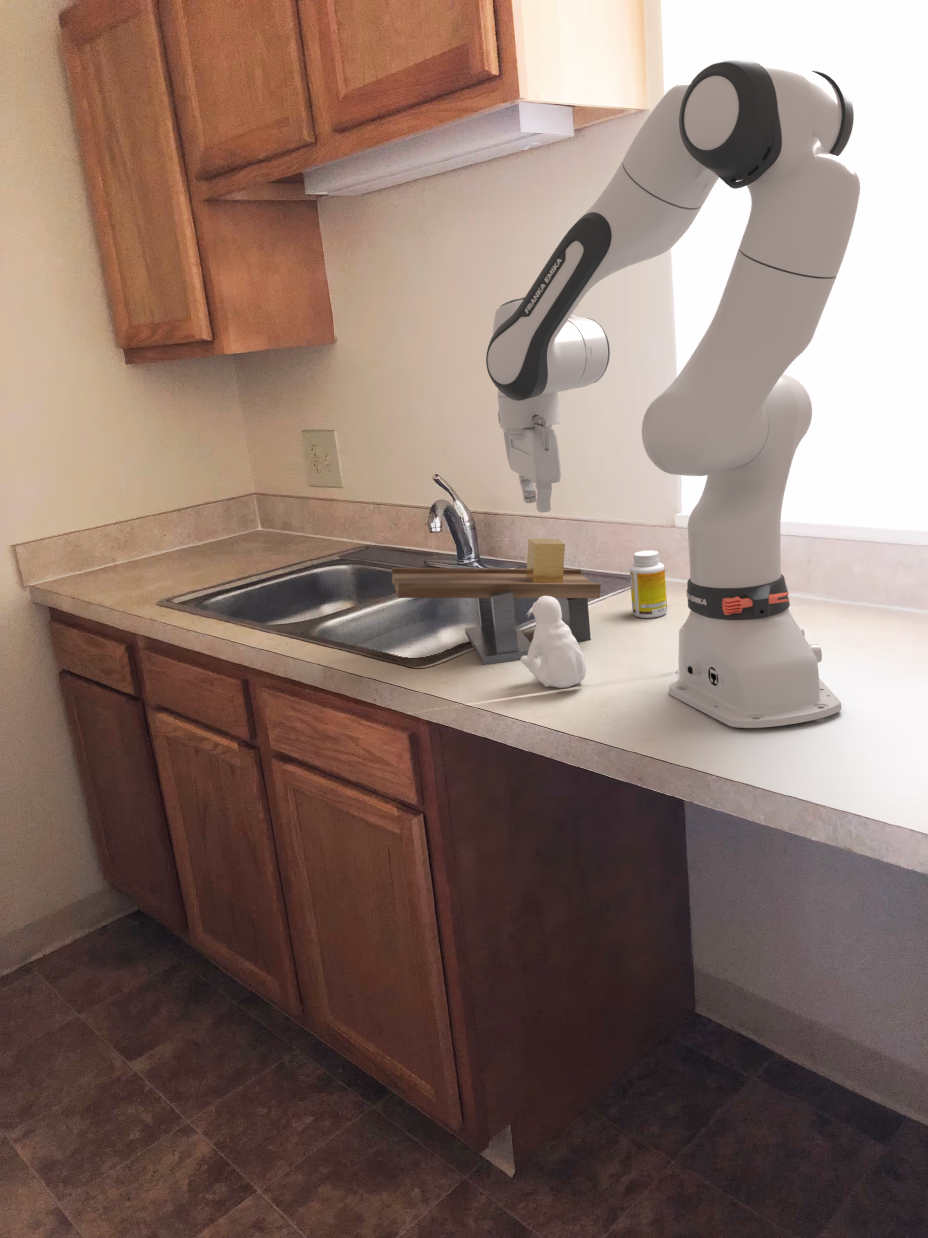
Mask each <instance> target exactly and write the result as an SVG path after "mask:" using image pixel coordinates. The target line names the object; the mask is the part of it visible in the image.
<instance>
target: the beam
mask: <svg viewBox="0 0 928 1238" xmlns="http://www.w3.org/2000/svg"><path fill="white" fill-rule="evenodd" d="M526 576H527V568H503V567H502V568H491V567H490V568H488V567H487V568H486V567H484V568H483V567H482V568H481V567H480V568H479V567H478V568H477V567H475V568H474V567H473V568H468V567H462V568H461V567H460V568H459V567H457V568H456V567H450V568H449V567H392V568H391V582H392V585H393V588H394V590H395V592H396V596H397V597H398V599H477V598H491V593H498V592H505V591H511V592H512V593H513V599H539V598H540V597H542V596H551V597H554V598H555V599H556V598H587V599H600V597H601V583H599V582H593V581H592V580H590V579H588V578H587V577H586V576H584V574H582V570H581V569H580V568H563V583H532V582H531V581H530V580H529V579H528V578H527V577H526Z"/></svg>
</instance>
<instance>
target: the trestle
mask: <svg viewBox="0 0 928 1238" xmlns="http://www.w3.org/2000/svg"><path fill="white" fill-rule="evenodd" d="M476 599H477V611H478V616H479V617H478V618H479V626H473V627H466V628H465V627H464V633H465V636H466V637H467V639H468V641H469V642H472V644H473V646H472V648H473V647H474V648H473V649H475V650H474V651H475V654H476V655H477V657H478V659H479V660H480V662H481V664H482V665H483V666H486V665H487V664H488V665H494V664H500V663H507V662H512V661H513V662H515V661H521V657H522V656H527V655H528V651H529V648H530V645H531V641H529V639H528V638H527V637H526V636H525V634H524V633H523V632H522V631H521V629H520V628H519V627H518V626H517V623H516V621H517V620H516V613H515V602H514V598H513V593H512V592H511V591H505V592H498V593H491V598H476ZM555 599H557V600H558V602H559V604H560V607H561V612H562V621H563V622H564V623H565V624H566V625H568V626H569V628H570V630H571V632H572V635H573V636H574V637H575V639H576V640H577V643H579V642H585V641H591V640H592V639H591V629H590V628H591V627H590V615H589V614H590V613H589V612H590V611H589V602H588V601H589V600H588V599H589V598H555ZM472 644H471V645H472ZM488 665H487V666H488Z"/></svg>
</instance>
